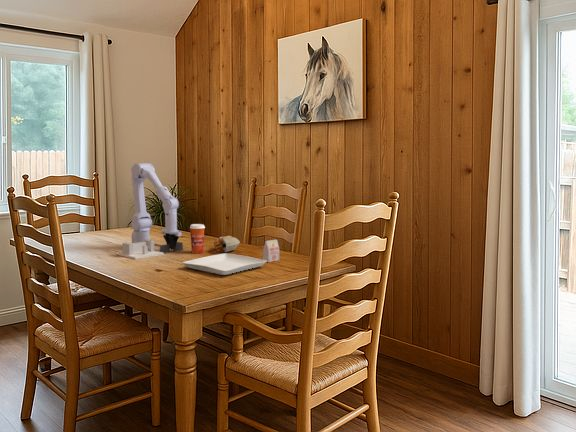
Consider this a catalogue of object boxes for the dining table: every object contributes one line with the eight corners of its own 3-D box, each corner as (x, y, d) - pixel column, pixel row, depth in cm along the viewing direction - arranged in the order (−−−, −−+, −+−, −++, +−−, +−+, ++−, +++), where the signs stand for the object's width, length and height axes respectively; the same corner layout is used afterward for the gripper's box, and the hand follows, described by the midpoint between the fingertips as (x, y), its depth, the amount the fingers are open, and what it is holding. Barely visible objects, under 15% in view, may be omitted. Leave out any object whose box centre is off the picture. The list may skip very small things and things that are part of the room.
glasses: (148, 250, 298) (148, 242, 297) (169, 247, 307) (169, 239, 307) (161, 253, 290) (161, 245, 289) (183, 250, 299) (183, 242, 299)
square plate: (225, 260, 277) (225, 252, 277) (268, 268, 260) (268, 259, 260) (180, 269, 257) (180, 260, 256) (224, 279, 239) (224, 269, 239)
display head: (117, 254, 286) (116, 242, 285) (145, 250, 298) (145, 238, 297) (135, 259, 275) (135, 246, 275) (163, 254, 287) (163, 242, 286)
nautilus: (217, 257, 283) (196, 255, 293) (247, 248, 300) (226, 247, 309) (216, 241, 282) (195, 240, 292) (246, 233, 299) (225, 232, 308)
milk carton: (263, 261, 273) (263, 240, 272) (274, 259, 277) (274, 239, 276) (268, 262, 270) (268, 241, 269) (279, 261, 275) (279, 240, 273)
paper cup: (190, 254, 289) (190, 226, 287) (189, 251, 296) (188, 224, 294) (206, 253, 291) (206, 225, 289) (204, 250, 298) (204, 223, 296)
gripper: (186, 222, 291) (186, 249, 293) (169, 220, 301) (169, 246, 303) (174, 224, 286) (175, 251, 288) (157, 221, 296) (158, 247, 298)
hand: (171, 248), depth 295 cm, fingers closed on glasses, 2 cm apart
